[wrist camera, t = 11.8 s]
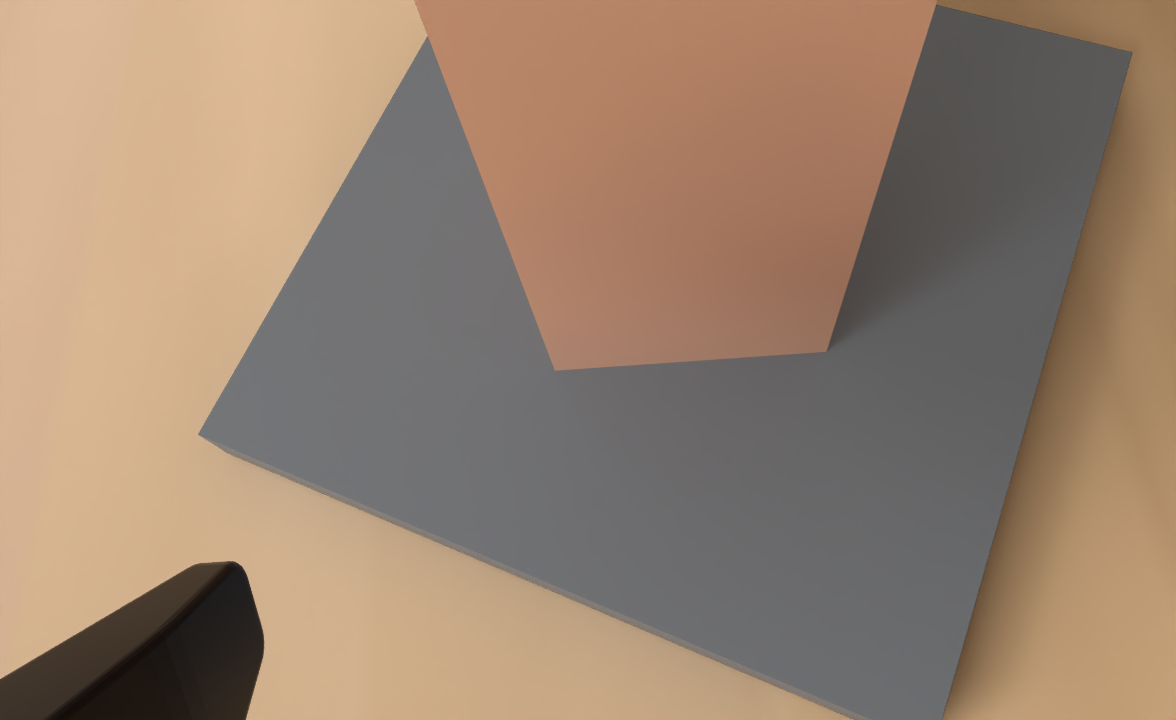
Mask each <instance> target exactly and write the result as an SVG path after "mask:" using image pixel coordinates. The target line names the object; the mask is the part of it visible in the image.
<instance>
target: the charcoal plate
mask: <svg viewBox="0 0 1176 720" xmlns="http://www.w3.org/2000/svg"><path fill="white" fill-rule="evenodd" d="M1132 53H1133V52H1128V51H1124V50H1120V49H1116V48H1112V47H1108V46H1104V45H1100V44H1095V43H1091V42H1087V41H1083V40H1079V39H1075V38H1071V37H1066V36H1062V35H1058V34H1054V33H1050V32H1046V31H1042V30H1038V29H1033V28H1029V27H1025V26H1021V25H1017V24H1013V23H1009V22H1004V21H1000V20H996V19H992V18H988V17H984V16H980V15H976V14H971V13H967V12H963V11H959V10H955V9H951V8H947V7H942V6H938V5H936V6H935V9H934V13H933V16H932V19H931V22H930V25H929V28H928V32H927V35H926V38H925V41H924V44H923V47H922V51H921V54H920V57H919V60H918V63H917V66H916V70H915V73H914V76H913V79H912V82H911V85H910V89H909V92H908V95H907V98H906V101H905V104H904V108H903V111H902V114H901V117H900V120H899V123H898V127H897V130H896V133H895V136H894V139H893V142H892V146H891V149H890V152H889V155H888V158H887V161H886V165H885V168H884V171H883V174H882V177H881V180H880V184H879V187H878V190H877V193H876V196H875V199H874V203H873V206H872V209H871V212H870V215H869V218H868V222H867V225H866V228H865V231H864V234H863V237H862V241H861V244H860V247H859V250H858V253H857V256H856V260H855V263H854V266H853V269H852V272H851V275H850V279H849V282H848V285H847V288H846V291H845V294H844V298H843V301H842V304H841V307H840V310H839V313H838V317H837V320H836V323H835V326H834V329H833V332H832V336H831V339H830V342H829V345H828V348H827V351H826V352H816V353H802V354H787V355H773V356H759V357H744V358H730V359H715V360H701V361H687V362H672V363H658V364H644V365H629V366H615V367H601V368H586V369H572V370H557V371H555V370H554V367H553V364H552V362H551V359H550V356H549V354H548V351H547V349H546V346H545V343H544V341H543V338H542V335H541V333H540V330H539V327H538V325H537V322H536V320H535V317H534V314H533V312H532V309H531V306H530V304H529V301H528V298H527V296H526V293H525V291H524V288H523V285H522V283H521V280H520V277H519V275H518V272H517V270H516V267H515V264H514V262H513V259H512V256H511V254H510V251H509V248H508V246H507V243H506V241H505V238H504V235H503V233H502V230H501V227H500V225H499V222H498V219H497V217H496V214H495V212H494V209H493V206H492V204H491V201H490V198H489V196H488V193H487V190H486V188H485V185H484V183H483V180H482V177H481V175H480V172H479V169H478V167H477V164H476V162H475V159H474V156H473V154H472V151H471V148H470V146H469V143H468V140H467V138H466V135H465V133H464V130H463V127H462V125H461V122H460V119H459V117H458V114H457V111H456V109H455V106H454V104H453V101H452V98H451V96H450V93H449V90H448V88H447V85H446V82H445V80H444V77H443V75H442V72H441V69H440V67H439V64H438V61H437V59H436V56H435V53H434V51H433V48H432V46H431V43H430V40H429V38H428V36H427V38H426V40H425V42H424V43H423V45H422V47H421V48H420V50H419V52H418V54H417V55H416V57H415V59H414V61H413V62H412V64H411V66H410V68H409V69H408V71H407V73H406V74H405V76H404V78H403V80H402V81H401V83H400V85H399V87H398V88H397V90H396V92H395V94H394V95H393V97H392V99H391V101H390V102H389V104H388V106H387V107H386V109H385V111H384V113H383V114H382V116H381V118H380V120H379V121H378V123H377V125H376V127H375V128H374V130H373V132H372V133H371V135H370V137H369V139H368V140H367V142H366V144H365V146H364V147H363V149H362V151H361V153H360V154H359V156H358V158H357V160H356V161H355V163H354V165H353V166H352V168H351V170H350V172H349V173H348V175H347V177H346V179H345V180H344V182H343V184H342V186H341V187H340V189H339V191H338V192H337V194H336V196H335V198H334V199H333V201H332V203H331V205H330V206H329V208H328V210H327V212H326V213H325V215H324V217H323V218H322V220H321V222H320V224H319V225H318V227H317V229H316V231H315V232H314V234H313V236H312V238H311V239H310V241H309V243H308V245H307V246H306V248H305V250H304V251H303V253H302V255H301V257H300V258H299V260H298V262H297V264H296V265H295V267H294V269H293V271H292V272H291V274H290V276H289V277H288V279H287V281H286V283H285V284H284V286H283V288H282V290H281V291H280V293H279V295H278V297H277V298H276V300H275V302H274V303H273V305H272V307H271V309H270V310H269V312H268V314H267V316H266V317H265V319H264V321H263V323H262V324H261V326H260V328H259V330H258V331H257V333H256V335H255V336H254V338H253V340H252V342H251V343H250V345H249V347H248V349H247V350H246V352H245V354H244V356H243V357H242V359H241V361H240V362H239V364H238V366H237V368H236V369H235V371H234V373H233V375H232V376H231V378H230V380H229V382H228V383H227V385H226V387H225V389H224V390H223V392H222V394H221V395H220V397H219V399H218V401H217V402H216V404H215V406H214V408H213V409H212V411H211V413H210V415H209V416H208V418H207V420H206V421H205V423H204V425H203V427H202V428H201V430H200V432H199V434H198V435H200V436H201V437H203V438H204V439H206V440H208V441H209V442H211V443H212V444H214V445H215V446H217V447H219V448H220V449H222V450H223V451H225V452H227V453H229V454H231V455H234V456H236V457H238V458H241V459H243V460H245V461H248V462H250V463H252V464H255V465H257V466H259V467H262V468H264V469H266V470H269V471H271V472H274V473H276V474H278V475H281V476H283V477H285V478H288V479H290V480H292V481H295V482H297V483H299V484H302V485H304V486H306V487H309V488H311V489H314V490H316V491H318V492H321V493H323V494H325V495H328V496H330V497H332V498H335V499H337V500H339V501H342V502H344V503H346V504H349V505H351V506H353V507H356V508H358V509H361V510H363V511H365V512H368V513H370V514H372V515H375V516H377V517H379V518H382V519H384V520H386V521H389V522H391V523H393V524H396V525H398V526H401V527H403V528H405V529H408V530H410V531H412V532H415V533H417V534H419V535H422V536H424V537H426V538H429V539H431V540H433V541H436V542H438V543H440V544H443V545H445V546H448V547H450V548H452V549H455V550H457V551H459V552H462V553H464V554H466V555H469V556H471V557H473V558H476V559H478V560H480V561H483V562H485V563H488V564H490V565H492V566H495V567H497V568H499V569H502V570H504V571H506V572H509V573H511V574H513V575H516V576H518V577H520V578H523V579H525V580H527V581H530V582H532V583H535V584H537V585H539V586H542V587H544V588H546V589H549V590H551V591H553V592H556V593H558V594H560V595H563V596H565V597H567V598H570V599H572V600H575V601H577V602H579V603H582V604H584V605H586V606H589V607H591V608H593V609H596V610H598V611H600V612H603V613H605V614H607V615H610V616H612V617H614V618H617V619H619V620H622V621H624V622H626V623H629V624H631V625H633V626H636V627H638V628H640V629H643V630H645V631H647V632H650V633H652V634H654V635H657V636H659V637H662V638H664V639H666V640H669V641H671V642H673V643H676V644H678V645H680V646H683V647H685V648H687V649H690V650H692V651H694V652H697V653H699V654H701V655H704V656H706V657H709V658H711V659H713V660H716V661H718V662H720V663H723V664H725V665H727V666H730V667H732V668H734V669H737V670H739V671H741V672H744V673H746V674H749V675H751V676H753V677H756V678H758V679H760V680H763V681H765V682H767V683H770V684H772V685H774V686H777V687H779V688H781V689H784V690H786V691H788V692H791V693H793V694H796V695H798V696H800V697H803V698H805V699H807V700H810V701H812V702H814V703H817V704H819V705H821V706H824V707H826V708H828V709H831V710H833V711H836V712H838V713H840V714H843V715H845V716H847V717H850V718H852V719H854V720H942V717H943V714H944V710H945V707H946V703H947V700H948V696H949V693H950V689H951V686H952V682H953V679H954V675H955V672H956V668H957V665H958V661H959V658H960V654H961V651H962V647H963V644H964V640H965V637H966V633H967V630H968V626H969V623H970V619H971V616H972V612H973V609H974V605H975V602H976V598H977V595H978V591H979V588H980V584H981V581H982V577H983V574H984V570H985V567H986V563H987V560H988V556H989V553H990V549H991V546H992V542H993V539H994V535H995V532H996V528H997V525H998V521H999V518H1000V514H1001V511H1002V507H1003V504H1004V500H1005V497H1006V493H1007V490H1008V486H1009V483H1010V479H1011V476H1012V472H1013V469H1014V465H1015V462H1016V458H1017V455H1018V451H1019V448H1020V444H1021V441H1022V437H1023V434H1024V430H1025V427H1026V423H1027V420H1028V416H1029V413H1030V409H1031V406H1032V402H1033V399H1034V395H1035V392H1036V388H1037V385H1038V381H1039V378H1040V374H1041V371H1042V367H1043V364H1044V360H1045V357H1046V354H1047V350H1048V347H1049V343H1050V340H1051V336H1052V333H1053V329H1054V326H1055V322H1056V319H1057V315H1058V312H1059V308H1060V305H1061V301H1062V298H1063V294H1064V291H1065V287H1066V284H1067V280H1068V277H1069V273H1070V270H1071V266H1072V263H1073V259H1074V256H1075V252H1076V249H1077V245H1078V242H1079V238H1080V235H1081V231H1082V228H1083V224H1084V221H1085V217H1086V214H1087V210H1088V207H1089V203H1090V200H1091V196H1092V193H1093V189H1094V186H1095V182H1096V179H1097V175H1098V172H1099V168H1100V165H1101V161H1102V158H1103V154H1104V151H1105V147H1106V144H1107V140H1108V137H1109V133H1110V130H1111V126H1112V123H1113V119H1114V116H1115V112H1116V109H1117V105H1118V102H1119V98H1120V95H1121V91H1122V88H1123V84H1124V81H1125V77H1126V74H1127V70H1128V67H1129V63H1130V60H1131V56H1132Z"/></svg>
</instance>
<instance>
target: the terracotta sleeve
mask: <svg viewBox="0 0 1176 720" xmlns="http://www.w3.org/2000/svg"><path fill="white" fill-rule="evenodd" d="M414 1H415V3H416V6H417V9H418V11H419V14H420V17H421V19H422V22H423V25H424V27H425V30H426V32H427V35H428V38H429V40H430V43H431V46H432V48H433V51H434V53H435V56H436V59H437V61H438V64H439V67H440V69H441V72H442V75H443V77H444V80H445V82H446V85H447V88H448V90H449V93H450V96H451V98H452V101H453V104H454V106H455V109H456V111H457V114H458V117H459V119H460V122H461V125H462V127H463V130H464V133H465V135H466V138H467V140H468V143H469V146H470V148H471V151H472V154H473V156H474V159H475V162H476V164H477V167H478V169H479V172H480V175H481V177H482V180H483V183H484V185H485V188H486V190H487V193H488V196H489V198H490V201H491V204H492V206H493V209H494V212H495V214H496V217H497V219H498V222H499V225H500V227H501V230H502V233H503V235H504V238H505V241H506V243H507V246H508V248H509V251H510V254H511V256H512V259H513V262H514V264H515V267H516V270H517V272H518V275H519V277H520V280H521V283H522V285H523V288H524V291H525V293H526V296H527V298H528V301H529V304H530V306H531V309H532V312H533V314H534V317H535V320H536V322H537V325H538V327H539V330H540V333H541V335H542V338H543V341H544V343H545V346H546V349H547V351H548V354H549V356H550V359H551V362H552V364H553V367H554V370H555V371H557V370H572V369H586V368H601V367H615V366H629V365H644V364H658V363H672V362H687V361H701V360H715V359H730V358H744V357H759V356H773V355H787V354H802V353H816V352H826V351H827V348H828V345H829V342H830V339H831V336H832V332H833V329H834V326H835V323H836V320H837V317H838V313H839V310H840V307H841V304H842V301H843V298H844V294H845V291H846V288H847V285H848V282H849V279H850V275H851V272H852V269H853V266H854V263H855V260H856V256H857V253H858V250H859V247H860V244H861V241H862V237H863V234H864V231H865V228H866V225H867V222H868V218H869V215H870V212H871V209H872V206H873V203H874V199H875V196H876V193H877V190H878V187H879V184H880V180H881V177H882V174H883V171H884V168H885V165H886V161H887V158H888V155H889V152H890V149H891V146H892V142H893V139H894V136H895V133H896V130H897V127H898V123H899V120H900V117H901V114H902V111H903V108H904V104H905V101H906V98H907V95H908V92H909V89H910V85H911V82H912V79H913V76H914V73H915V70H916V66H917V63H918V60H919V57H920V54H921V51H922V47H923V44H924V41H925V38H926V35H927V32H928V28H929V25H930V22H931V19H932V16H933V13H934V9H935V6H936V3H937V0H414Z"/></svg>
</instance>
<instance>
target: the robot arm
mask: <svg viewBox="0 0 1176 720" xmlns="http://www.w3.org/2000/svg"><path fill="white" fill-rule="evenodd" d="M263 653H264V634H263V630H262V626H261V622H260V619H259V615H258V612H257V608H256V605H255V602H254V598H253V595H252V591H251V588H250V584H249V581H248V577H247V575H246V572H245V570H244V569H243V567H242V566H241V565H239V564H238V563H236V562H233V561H227V562H212V563H199V564H196V565H193V566H191V567H189V568H187V569H186V570H184V571H182V572H181V573H179V574H177V575H176V576H174V577H172V578H170V579H169V580H167V581H165V582H164V583H162V584H160V585H159V586H157V587H155V588H154V589H152V590H150V591H148V592H147V593H145V594H143V595H142V596H140V597H138V598H137V599H135V600H133V601H132V602H130V603H128V604H126V605H125V606H123V607H121V608H120V609H118V610H116V611H115V612H113V613H111V614H110V615H108V616H106V617H104V618H103V619H101V620H99V621H98V622H96V623H94V624H93V625H91V626H89V627H88V628H86V629H84V630H83V631H81V632H79V633H77V634H76V635H74V636H72V637H71V638H69V639H67V640H66V641H64V642H62V643H61V644H59V645H57V646H55V647H54V648H52V649H50V650H49V651H47V652H45V653H44V654H42V655H40V656H39V657H37V658H35V659H33V660H32V661H30V662H28V663H27V664H25V665H23V666H22V667H20V668H18V669H17V670H15V671H13V672H12V673H10V674H8V675H6V676H5V677H3V678H1V679H0V720H246V717H247V713H248V710H249V706H250V703H251V699H252V695H253V692H254V688H255V685H256V681H257V677H258V674H259V670H260V667H261V663H262V659H263Z"/></svg>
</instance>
